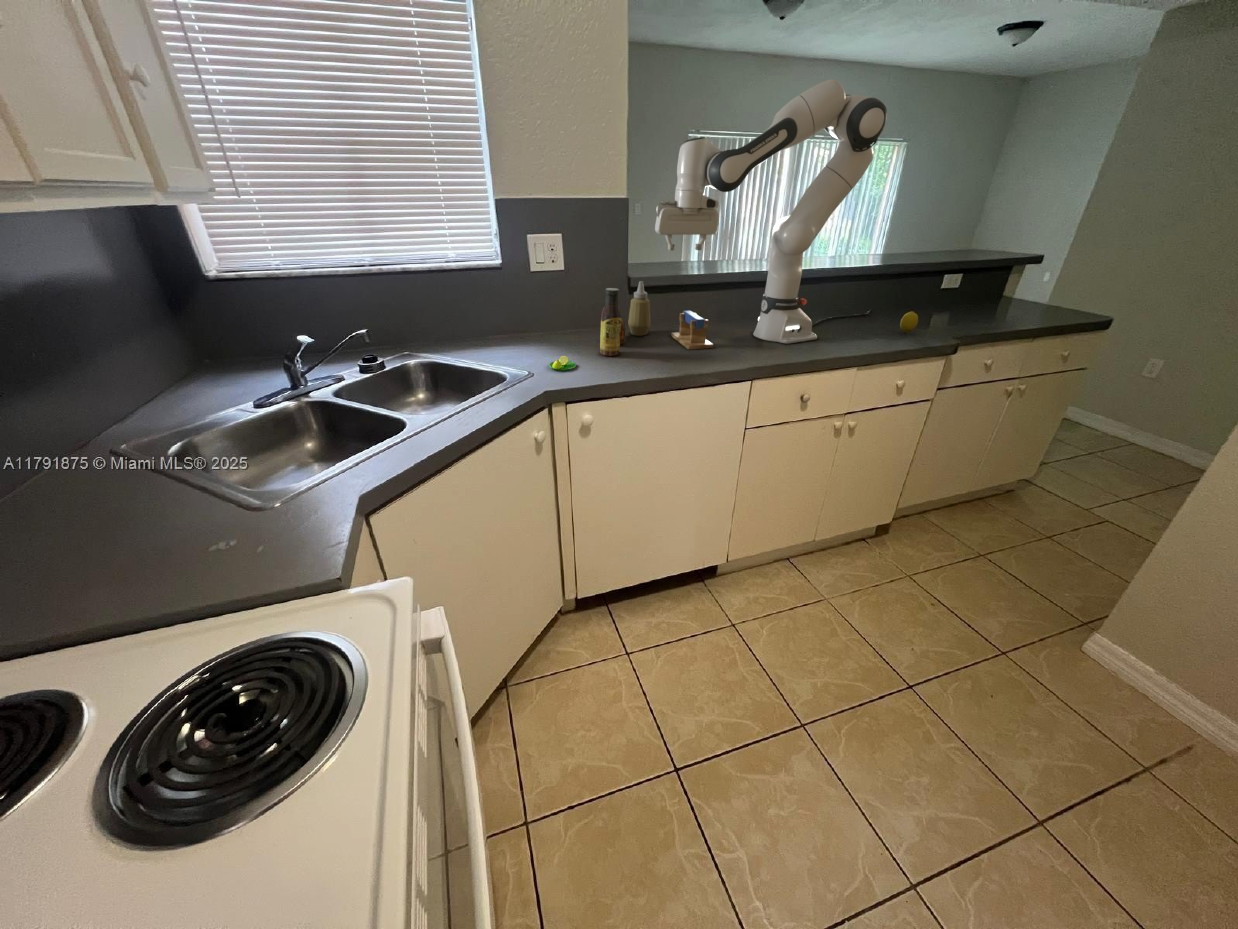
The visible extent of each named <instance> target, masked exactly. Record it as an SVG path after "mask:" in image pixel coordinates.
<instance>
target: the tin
mask: <svg viewBox="0 0 1238 929" xmlns="http://www.w3.org/2000/svg"><path fill="white" fill-rule="evenodd" d="M626 328H627V327H626V323H625V321H624V320H623V319H622V318H621V330H620V345H623V344H624V343H625V341H626Z"/></svg>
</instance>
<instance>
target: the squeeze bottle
mask: <svg viewBox="0 0 1238 929" xmlns="http://www.w3.org/2000/svg"><path fill="white" fill-rule="evenodd" d="M651 322H652V321H651V302H650V300H649V299H648V292H647V291H645V287H644V281H643V280H639V282H638V286H637V290H636V291H634V292H633V298H632V299H630V306H629V313H628V321H627V324H628V327H629V331H630V334H631V335H633V336H639V337H642V336H646V335H647V334H648V333H649V330H650V328H651V325H652V323H651Z"/></svg>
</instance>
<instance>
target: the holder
mask: <svg viewBox="0 0 1238 929" xmlns="http://www.w3.org/2000/svg"><path fill="white" fill-rule="evenodd" d="M694 313H695V314H697V315H698V313H697V312H694ZM678 320H679V331H677V332H670V333H671V335H670V336H671V337H672V338H673V339H674V340H675V341H677V342H678V343H680V344H681V346H683V347H684V348H685V349H687V350H702V349H714V344H715V343H713V342H711V341H709V340H708V339H707V338H706V337H707V331H708V329H709V322H710V320H709V319H704V328H699V329H696V328H695V321H694V320H691V321H690V324H689V323H687V322H686V321H684V314H683V312H680V313H679V318H678Z"/></svg>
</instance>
